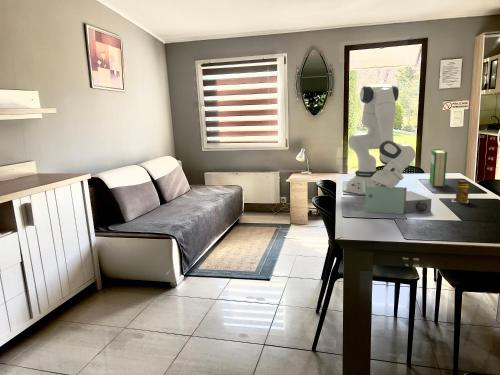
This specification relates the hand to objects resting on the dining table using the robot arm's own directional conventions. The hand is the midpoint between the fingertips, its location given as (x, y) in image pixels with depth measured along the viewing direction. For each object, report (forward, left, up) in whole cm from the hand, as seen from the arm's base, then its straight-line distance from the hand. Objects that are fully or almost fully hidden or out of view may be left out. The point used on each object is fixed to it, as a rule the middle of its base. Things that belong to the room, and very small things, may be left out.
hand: (373, 190), depth 199 cm
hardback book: (+12, +87, -12) cm, 88 cm away
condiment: (+34, +45, -12) cm, 57 cm away
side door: (+7, -1, -11) cm, 13 cm away
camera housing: (+14, +15, -11) cm, 23 cm away
